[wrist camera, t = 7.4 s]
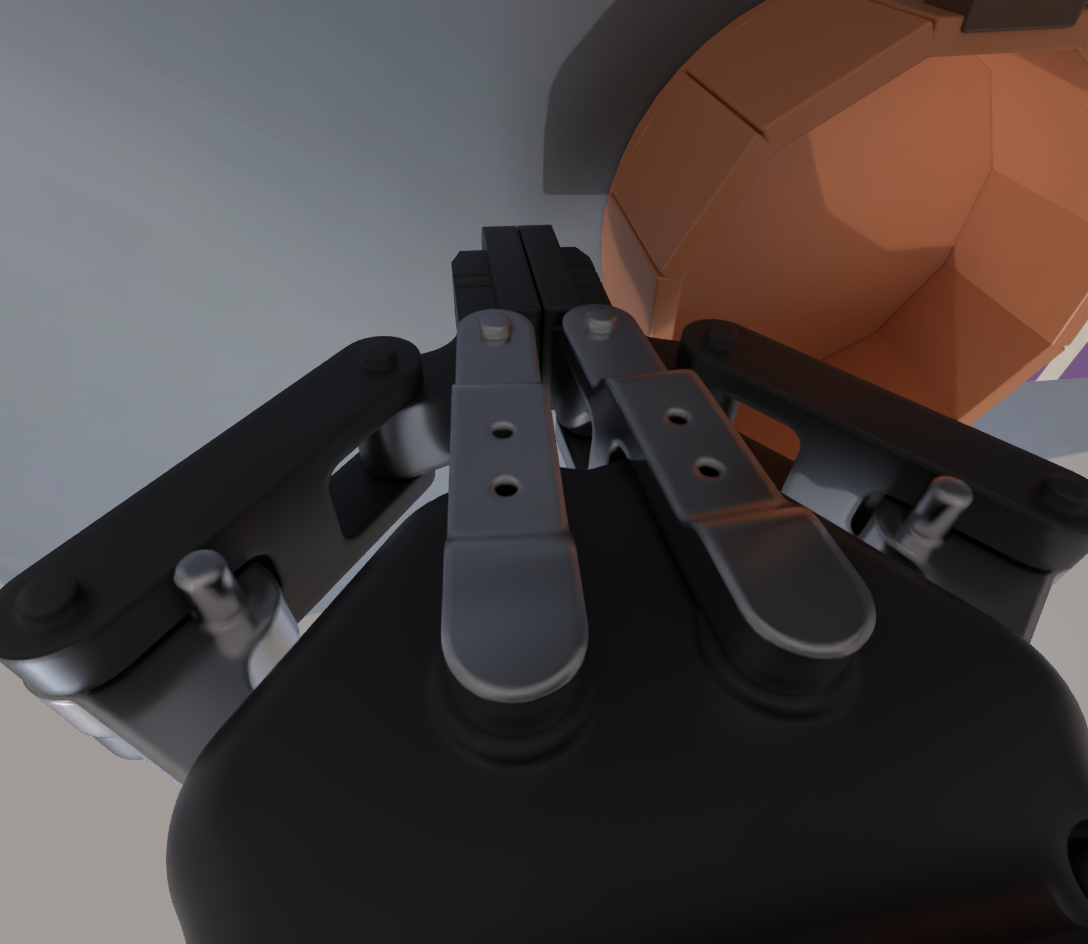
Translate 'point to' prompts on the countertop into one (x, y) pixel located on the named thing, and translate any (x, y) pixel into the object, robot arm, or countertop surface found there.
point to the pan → (869, 194)
